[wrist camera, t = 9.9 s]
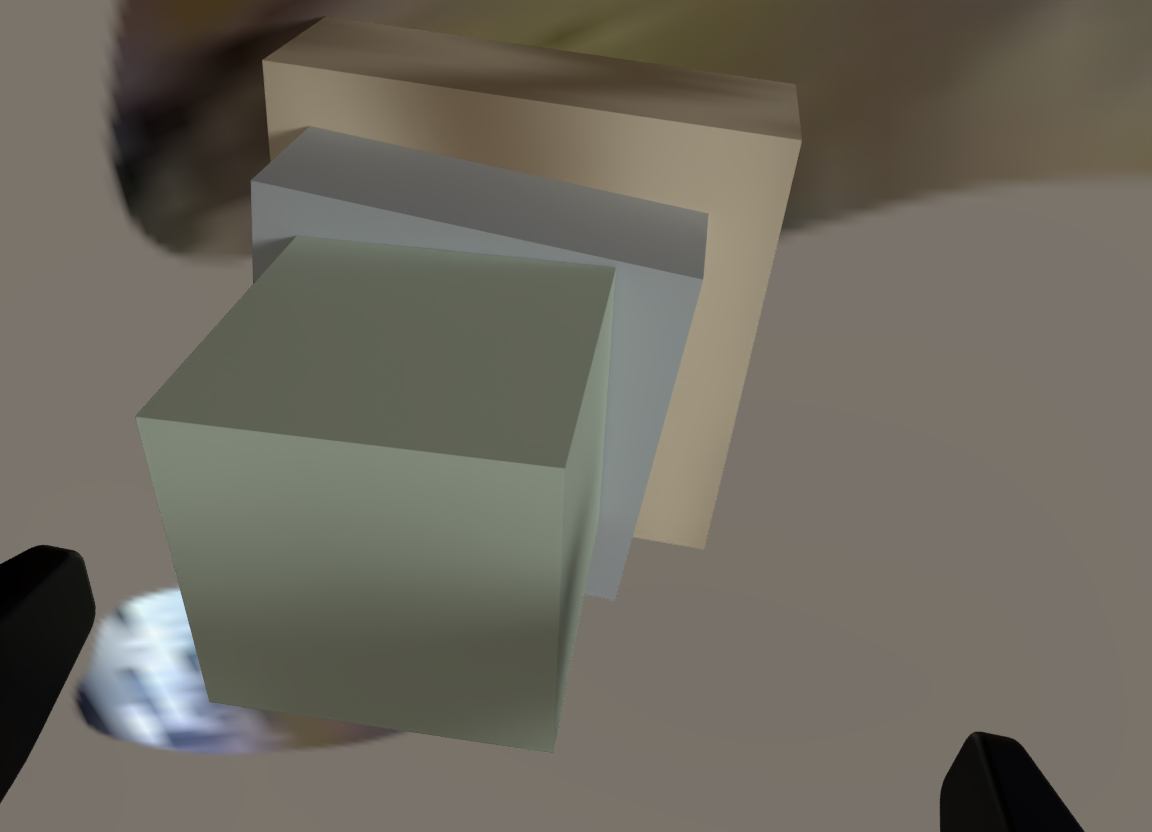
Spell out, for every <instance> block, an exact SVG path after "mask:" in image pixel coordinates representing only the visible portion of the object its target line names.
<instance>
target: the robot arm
mask: <svg viewBox="0 0 1152 832" xmlns="http://www.w3.org/2000/svg"><path fill="white" fill-rule="evenodd" d="M94 619H95V601H94V598H93V594H92V590H91V586H90V582H89V578H88V574H87V570H86V566H85V562H84V560H83V558H82V556H81V555H80V554H79V553H78V552H76V551H74V550H69V549H64V548H59V547H54V546H49V545H39V546H35V547H32V548H30V549H28V550H26V551H24V552H22V553H21V554H19V555H17V556H15V557H13V558H12V559H9V560H7V561H5V562H4V563H2V564H0V803H1V801H2V800H3V798H4V796H5V795H6V793H7V792H8V790H9V789H10V787H11V785H12V784H13V782H14V780H15V779H16V777H17V775H18V774H19V772H20V770H21V768H22V767H23V765H24V763H25V762H26V760H27V758H28V756H29V754H30V752H31V750H32V749H33V747H34V745H35V743H36V741H37V739H38V737H39V735H40V733H41V731H42V729H43V727H44V725H45V723H46V721H47V719H48V716H49V715H50V713H51V711H52V709H53V706H54V704H55V702H56V700H57V698H58V696H59V694H60V692H61V690H62V688H63V686H64V684H65V682H66V680H67V678H68V676H69V674H70V672H71V670H72V668H73V666H74V664H75V661H76V660H77V657H78V655H79V653H80V651H81V649H82V647H83V645H84V643H85V641H86V639H87V637H88V635H89V633H90V631H91V628H92V626H93V623H94ZM940 832H1084V830H1083V829H1082V827H1081V826H1080V825H1079V823H1078V822H1077V821H1076V819H1075V818H1074V816H1073V815H1072V814H1071V812H1070V811H1069V809H1068V808H1067V807H1066V805H1065V804H1064V803H1063V801H1062V800H1061V798H1060V797H1059V796H1058V794H1057V793H1056V792H1055V790H1054V789H1053V787H1052V786H1051V785H1050V783H1049V782H1048V780H1047V779H1046V778H1045V776H1044V775H1043V774H1042V772H1041V771H1040V770H1039V768H1038V767H1037V765H1036V764H1035V762H1034V761H1033V760H1032V758H1031V757H1030V756H1029V754H1028V753H1027V752H1026V750H1025V749H1024V747H1023V746H1022V745H1021V744H1019V742H1017V741H1016V740H1014V739H1012V738H1009V737H1005V736H1000V735H995V734H990V733H985V732H974V733H972V734H970V735H969V736H968V738H967V739H966V740H965V742H964V744H963V746H962V748H961V749H960V751H959V753H958V755H957V757H956V758H955V760H954V762H953V764H952V766H951V767H950V769H949V771H948V773H947V775H946V777H945V779H944V781H943V785H942V788H941V795H940Z"/></svg>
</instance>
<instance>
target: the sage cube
mask: <svg viewBox="0 0 1152 832" xmlns="http://www.w3.org/2000/svg"><path fill="white" fill-rule="evenodd" d="M615 276H616V268H613V267H603V266H593V265H583V264H573V263H563V262H553V261H543V260H534V259H524V258H514V257H504V256H494V255H484V254H474V253H464V252H454V251H444V250H434V249H424V248H414V247H404V246H394V245H385V244H375V243H365V242H355V241H345V240H335V239H325V238H315V237H305V236H296V237H295V238H294V240H293V241H292V242H291V243H290V244H289V245H288V246H287V247H286V248H285V250H284V251H283V252H282V253H281V254H280V255H279V256H278V257H277V259H276V260H275V261H274V262H273V263H272V264H271V265H270V266H269V267H268V269H267V270H266V271H265V272H264V273H263V274H262V275H261V276H260V278H259V279H258V280H257V281H256V282H255V283H254V284H253V285H252V286H251V288H250V289H249V290H248V291H247V292H246V293H245V294H244V295H243V297H242V298H241V299H240V300H239V301H238V302H237V303H236V304H235V306H234V307H233V308H232V309H231V310H230V311H229V312H228V313H227V315H226V316H225V317H224V318H223V319H222V320H221V321H220V322H219V323H218V325H217V326H216V327H215V328H214V329H213V330H212V331H211V332H210V334H209V335H208V336H207V337H206V338H205V339H204V340H203V341H202V343H201V344H200V345H199V346H198V347H197V348H196V349H195V350H194V351H193V352H192V354H191V355H190V356H189V357H188V358H187V359H186V360H185V361H184V363H183V364H182V365H181V366H180V367H179V368H178V369H177V370H176V372H175V373H174V374H173V375H172V376H171V377H170V378H169V379H168V380H167V382H166V383H165V384H164V385H163V386H162V387H161V388H160V389H159V390H158V392H157V393H156V394H155V395H154V396H153V397H152V398H151V399H150V401H149V402H148V403H147V404H146V405H145V406H144V407H143V408H142V410H141V411H140V412H139V413H138V414H137V415H136V416H135V418H136V422H137V426H138V430H139V434H140V437H141V441H142V445H143V449H144V453H145V457H146V460H147V464H148V468H149V472H150V476H151V479H152V483H153V487H154V491H155V495H156V499H157V503H158V506H159V510H160V514H161V518H162V522H163V526H164V529H165V533H166V537H167V541H168V545H169V549H170V552H171V556H172V560H173V564H174V568H175V572H176V575H177V579H178V583H179V587H180V591H181V595H182V598H183V602H184V606H185V610H186V614H187V618H188V621H189V625H190V629H191V633H192V637H193V640H194V644H195V648H196V652H197V656H198V660H199V663H200V667H201V671H202V675H203V679H204V683H205V686H206V690H207V694H208V698H209V702H213V703H220V704H226V705H233V706H240V707H247V708H253V709H260V710H267V711H273V712H280V713H287V714H294V715H300V716H307V717H314V718H320V719H327V720H334V721H341V722H347V723H354V724H361V725H367V726H374V727H381V728H387V729H394V730H401V731H408V732H414V733H421V734H428V735H434V736H441V737H448V738H455V739H461V740H469V741H475V742H481V743H488V744H496V745H502V746H508V747H515V748H522V749H528V750H535V751H542V752H549V753H554V748H555V742H556V737H557V732H558V727H559V722H560V716H561V712H562V707H563V702H564V696H565V691H566V686H567V680H568V675H569V671H570V665H571V661H572V655H573V650H574V645H575V640H576V635H577V630H578V624H579V620H580V614H581V609H582V604H583V599H584V594H585V589H586V584H587V579H588V573H589V568H590V563H591V558H592V553H593V548H594V543H595V538H596V532H597V527H598V522H599V512H600V497H601V483H602V468H603V453H604V438H605V424H606V409H607V394H608V379H609V365H610V350H611V335H612V321H613V306H614V291H615Z"/></svg>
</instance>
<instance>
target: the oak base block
mask: <svg viewBox="0 0 1152 832" xmlns="http://www.w3.org/2000/svg"><path fill="white" fill-rule="evenodd" d="M262 63H263V75H264V88H265V100H266V113H267V125H268V138H269V150H270V162H271V161H272V160H274V159H275V158H276V157H277V156H278V155H279V154H280V153H281V152H282V151H283V150H284V149H286V148H287V147H288V146H289V145H290V144H291V143H292V142H293V141H294V140H295V139H296V138H297V137H299V136H300V135H301V134H302V133H303V132H304V131H305V130H306V129H307V128H308V127H309V126H311V127H316V128H320V129H325V130H330V131H334V132H339V133H343V134H348V135H352V136H357V137H362V138H366V139H371V140H375V141H380V142H385V143H389V144H394V145H398V146H403V147H407V148H412V149H417V150H421V151H426V152H430V153H435V154H439V155H444V156H449V157H453V158H458V159H462V160H467V161H472V162H476V163H481V164H485V165H490V166H494V167H499V168H504V169H508V170H513V171H517V172H522V173H527V174H531V175H536V176H540V177H545V178H549V179H554V180H558V181H563V182H568V183H572V184H577V185H581V186H586V187H590V188H595V189H599V190H604V191H608V192H613V193H618V194H622V195H627V196H631V197H636V198H640V199H645V200H649V201H654V202H658V203H663V204H668V205H672V206H677V207H681V208H686V209H690V210H695V211H699V212H704V213H709V216H708V228H707V240H706V252H705V265H704V277H703V283H702V286H701V290H700V293H699V297H698V301H697V304H696V308H695V312H694V315H693V319H692V323H691V326H690V330H689V334H688V337H687V341H686V344H685V348H684V352H683V355H682V359H681V363H680V366H679V370H678V374H677V377H676V381H675V384H674V388H673V392H672V395H671V399H670V403H669V406H668V410H667V414H666V417H665V421H664V425H663V428H662V432H661V435H660V439H659V443H658V446H657V450H656V454H655V457H654V461H653V465H652V468H651V472H650V476H649V479H648V483H647V486H646V490H645V494H644V497H643V501H642V505H641V508H640V512H639V516H638V519H637V523H636V527H635V530H634V534H633V537H635V538H642V539H647V540H653V541H659V542H665V543H670V544H676V545H681V546H687V547H693V548H699V549H705V545H706V541H707V537H708V532H709V528H710V524H711V520H712V516H713V511H714V507H715V503H716V498H717V494H718V490H719V486H720V482H721V478H722V474H723V469H724V465H725V461H726V457H727V453H728V448H729V444H730V440H731V436H732V432H733V427H734V423H735V419H736V415H737V410H738V406H739V402H740V398H741V394H742V389H743V386H744V381H745V377H746V373H747V369H748V365H749V360H750V356H751V352H752V348H753V344H754V339H755V335H756V331H757V327H758V322H759V318H760V314H761V310H762V306H763V302H764V297H765V293H766V289H767V285H768V281H769V276H770V272H771V268H772V263H773V259H774V255H775V251H776V247H777V243H778V239H779V235H780V230H781V226H782V222H783V218H784V214H785V209H786V205H787V201H788V197H789V193H790V188H791V184H792V180H793V176H794V172H795V167H796V163H797V159H798V155H799V151H800V146H801V142H802V137H801V128H800V119H799V111H798V102H797V93H796V84H789V83H782V82H775V81H768V80H762V79H755V78H748V77H741V76H734V75H727V74H720V73H713V72H706V71H700V70H693V69H686V68H679V67H672V66H665V65H658V64H651V63H645V62H638V61H631V60H624V59H617V58H610V57H603V56H596V55H589V54H583V53H576V52H569V51H562V50H555V49H548V48H541V47H534V46H528V45H521V44H514V43H507V42H500V41H493V40H486V39H479V38H472V37H466V36H459V35H452V34H445V33H438V32H431V31H424V30H417V29H410V28H404V27H397V26H390V25H383V24H376V23H369V22H362V21H355V20H349V19H342V18H335V17H328V16H326V17H324V18H323V19H321V20H320V21H318V22H317V23H316V24H314V25H313V26H311V27H310V28H308V29H307V30H305V31H304V32H302V33H301V34H300V35H298V36H297V37H295V38H294V39H292V40H291V41H289V42H288V43H286V44H285V45H284V46H282V47H281V48H279V49H278V50H276V51H275V52H273V53H272V54H270V55H269V56H268V57H266V58H265V59H263V60H262Z"/></svg>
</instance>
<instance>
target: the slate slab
mask: <svg viewBox="0 0 1152 832" xmlns="http://www.w3.org/2000/svg"><path fill="white" fill-rule="evenodd" d="M251 210H252V252H253V284H254V283H255V282H256V281H257V280H258V279H259V278H260V276H261V275H262V274H263V273H264V272H265V271H266V270H267V269H268V267H269V266H270V265H271V264H272V263H273V262H274V261H275V260H276V259H277V257H278V256H279V255H280V254H281V253H282V252H283V251H284V250H285V248H286V247H287V246H288V245H289V244H290V243H291V242H292V241H293V240H294V238H295V237H296V236H305V237H315V238H325V239H335V240H345V241H355V242H365V243H375V244H385V245H394V246H404V247H414V248H424V249H434V250H444V251H454V252H464V253H474V254H484V255H494V256H504V257H514V258H524V259H534V260H543V261H553V262H563V263H573V264H583V265H593V266H603V267H613V268H616V276H615V291H614V306H613V321H612V335H611V350H610V365H609V379H608V394H607V409H606V424H605V438H604V453H603V468H602V483H601V497H600V512H599V522H598V527H597V532H596V538H595V543H594V548H593V553H592V558H591V563H590V568H589V573H588V579H587V584H586V589H585V595H590V596H594V597H599V598H603V599H608V600H612V601H615V599H616V596H617V592H618V588H619V585H620V581H621V577H622V574H623V570H624V567H625V563H626V559H627V556H628V552H629V548H630V545H631V541H632V537H633V534H634V530H635V527H636V523H637V519H638V516H639V512H640V508H641V505H642V501H643V497H644V494H645V490H646V486H647V483H648V479H649V476H650V472H651V468H652V465H653V461H654V457H655V454H656V450H657V446H658V443H659V439H660V435H661V432H662V428H663V425H664V421H665V417H666V414H667V410H668V406H669V403H670V399H671V395H672V392H673V388H674V384H675V381H676V377H677V374H678V370H679V366H680V363H681V359H682V355H683V352H684V348H685V344H686V341H687V337H688V334H689V330H690V326H691V323H692V319H693V315H694V312H695V308H696V304H697V301H698V297H699V293H700V290H701V286H702V283H703V277H704V265H705V252H706V240H707V228H708V216H709V213H704V212H699V211H695V210H690V209H686V208H681V207H677V206H672V205H668V204H663V203H658V202H654V201H649V200H645V199H640V198H636V197H631V196H627V195H622V194H618V193H613V192H608V191H604V190H599V189H595V188H590V187H586V186H581V185H577V184H572V183H568V182H563V181H558V180H554V179H549V178H545V177H540V176H536V175H531V174H527V173H522V172H517V171H513V170H508V169H504V168H499V167H494V166H490V165H485V164H481V163H476V162H472V161H467V160H462V159H458V158H453V157H449V156H444V155H439V154H435V153H430V152H426V151H421V150H417V149H412V148H407V147H403V146H398V145H394V144H389V143H385V142H380V141H375V140H371V139H366V138H362V137H357V136H352V135H348V134H343V133H339V132H334V131H330V130H325V129H320V128H316V127H311V126H309V127H308V128H307V129H306V130H305V131H304V132H303V133H302V134H301V135H300V136H299V137H297V138H296V139H295V140H294V141H293V142H292V143H291V144H290V145H289V146H288V147H287V148H286V149H284V150H283V151H282V152H281V153H280V154H279V155H278V156H277V157H276V158H275V159H274V160H272V161H271V162H270V163H269V164H268V165H267V166H266V167H265V168H264V169H263V170H262V171H260V172H259V173H258V174H257V175H256V176H255V177H254V178H253V179H252V180H251Z"/></svg>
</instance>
